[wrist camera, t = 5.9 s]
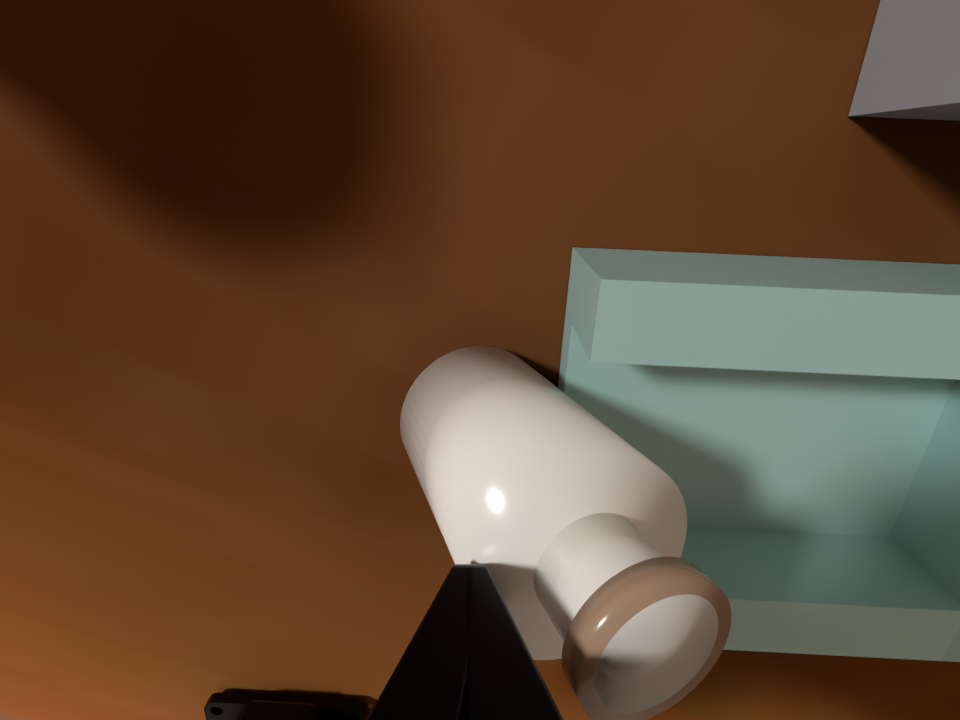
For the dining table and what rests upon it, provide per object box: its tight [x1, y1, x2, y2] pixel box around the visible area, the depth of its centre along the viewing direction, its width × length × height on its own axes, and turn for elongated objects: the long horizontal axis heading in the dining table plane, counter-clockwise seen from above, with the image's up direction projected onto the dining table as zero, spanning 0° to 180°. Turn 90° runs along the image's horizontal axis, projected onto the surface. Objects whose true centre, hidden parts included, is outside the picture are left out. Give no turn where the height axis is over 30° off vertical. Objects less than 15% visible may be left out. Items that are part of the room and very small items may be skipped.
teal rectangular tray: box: [558, 247, 960, 662], centre depth 14 cm, size 10×12×4 cm
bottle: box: [400, 346, 732, 720], centre depth 11 cm, size 4×4×8 cm
